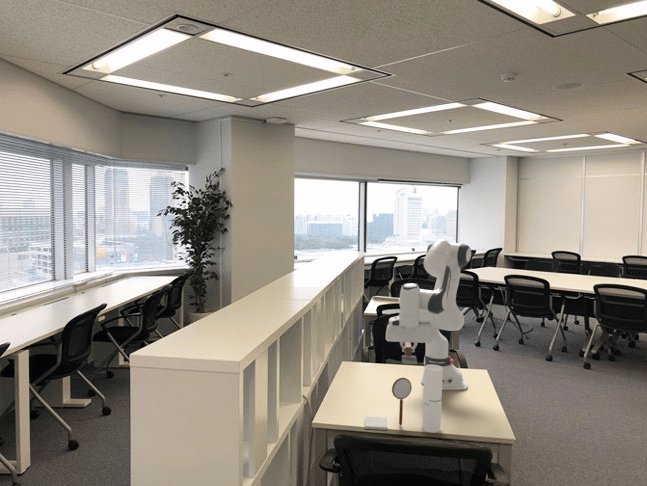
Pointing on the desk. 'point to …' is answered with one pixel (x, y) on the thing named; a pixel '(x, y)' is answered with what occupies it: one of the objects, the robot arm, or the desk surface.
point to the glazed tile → (376, 423)
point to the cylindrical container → (432, 398)
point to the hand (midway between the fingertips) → (408, 351)
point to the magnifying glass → (401, 392)
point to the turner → (408, 355)
